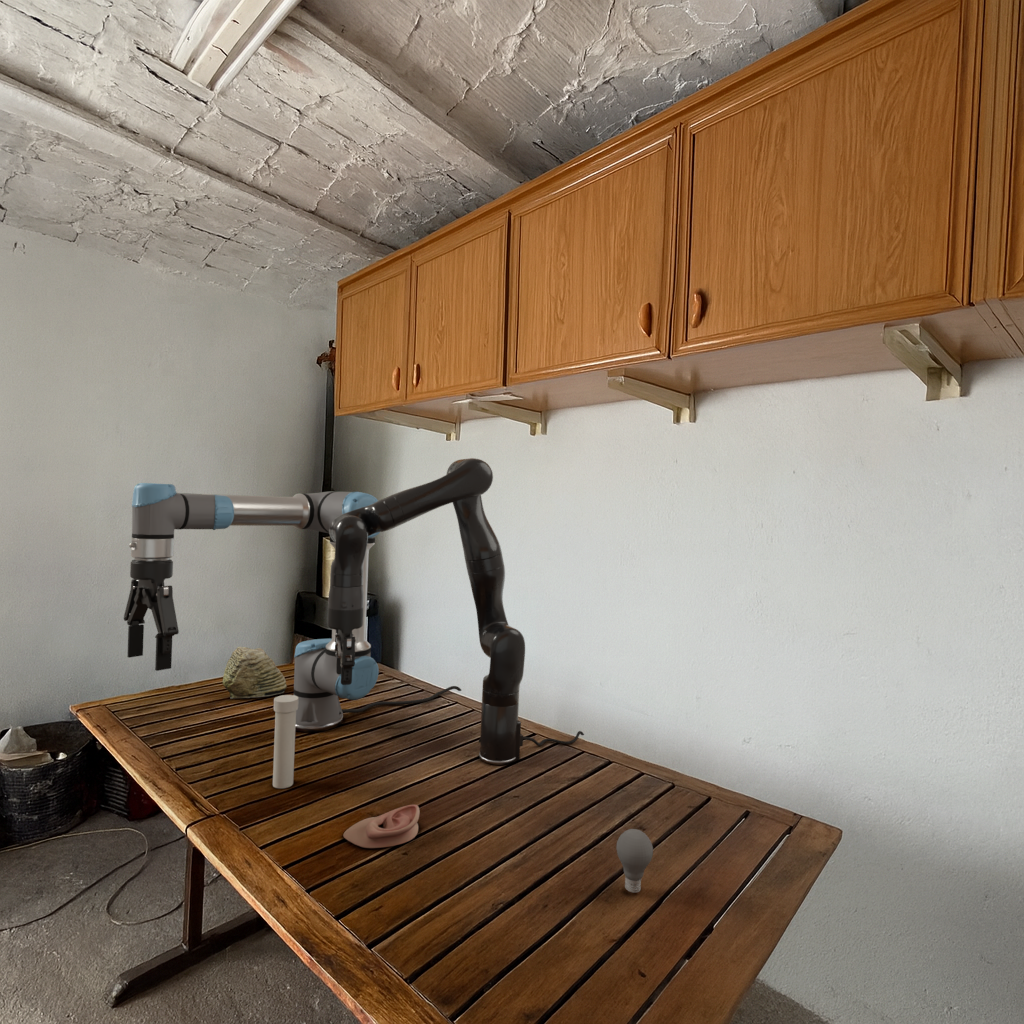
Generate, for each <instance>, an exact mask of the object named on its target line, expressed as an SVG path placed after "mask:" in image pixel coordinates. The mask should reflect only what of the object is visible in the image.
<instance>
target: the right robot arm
mask: <svg viewBox="0 0 1024 1024" xmlns="http://www.w3.org/2000/svg"><path fill="white" fill-rule="evenodd" d="M493 480H494V473H493V470H492V468H491V466H490V465H489V464H488V463H487V462H486V461H484V460H483V459H480V458H474V457H470V458H462V459H457V460H455V461H453V462H452V463H451V464H450V465H449V467H448V468H447V469H446V474H445V475H443V476H441V477H438V478H437V479H434V480H432V481H429V482H427V483H426V482H425V483H423V484H420V485H417V486H414V487H411V488H407V489H405V490H401V491H398V492H396V493H394V494H391V495H389V496H386V497H384V498H381V499H379V500H378V501H377V502H375V503H373V504H371V505H369V506H366V507H362V508H359V509H356V510H353V511H350V512H347V513H345V514H342V515H340V516H338V517H336V518H335V519H334V520H333V521H332V523H331V524H330V527H329V533H328V534H329V538H330V537H331V539H332V540H333V541H334V542H335V543H336V544H335V548H334V559H333V560H332V562H331V564H330V573H329V574H330V575H329V576H330V577H329V591H328V598H327V600H328V603H327V627H328V628H329V629H330V630H332V629H335V630H336V635H335V652H336V653H335V655H336V657H337V663H336V673H337V674H341V684H342V685H350V684H351V683H352V667H353V666H354V665H355V642H356V640H355V637H354V635H353V634H352V630H354V629H358V628H361V627H362V626H363V606H364V592H363V563H364V559H365V554H366V549H367V542H368V536H370V535H372V534H374V533H377V532H380V533H384V532H388V531H390V530H393V529H395V528H397V527H399V526H401V525H404V524H406V523H408V522H411V521H413V520H414V519H416V518H419V517H421V516H423V515H425V514H428V513H430V512H432V511H434V510H436V509H438V508H441V507H443V506H447V505H449V504H452V505H453V509H454V512H455V515H456V519H457V524H458V530H459V535H460V540H461V544H462V551H463V557H464V562H465V566H466V571H467V576H468V579H469V583H470V588H471V593H472V597H473V601H474V606H475V610H476V616H477V618H476V619H477V627H478V638H479V645H480V648H481V650H482V652H483V653H484V654H485V656H487V657H488V658H490V660H489V672H488V674H486V675H485V676H484V677H483V679H482V690H481V691H482V692H481V713H480V718H481V720H480V737H479V739H478V744H479V752H478V757H479V760H481V761H482V762H483V763H486V764H489V765H497V766H504V765H509V764H512V763H514V762H517V761H520V756H521V755H520V753H521V747H523V746H524V740H525V741H529V742H532V743H534V744H535V746H538V747H541V746H543V745H544V744H545V743H547V742H548V743H549V742H552V743H556V744H561V745H571V744H574V743H576V741H577V740H578V739H579V737H580V735H581V736H584V735H585V733H584V732H583V731H581V730H579V731H577V732H576V736H575V737H574V738H573V739H571V740H569V741H565V740H559V739H556V738H543V739H542V740H541V741H540V742H538V740H536V739H535V738H532V737H528V736H524V734H522V733H521V732H522V722H521V720H520V719H519V707H520V706H519V705H520V688H521V682H522V681H523V677H524V670H525V659H526V642H525V637H524V635H523V634H522V632H521V631H520V630H518V629H517V628H515V627H513V626H510V625H509V622H508V619H507V616H506V611H505V608H504V599H503V595H504V588H505V581H506V567H505V562H504V556H503V552H502V548H501V544H500V541H499V539H498V537H497V535H496V533H495V531H494V529H493V527H492V525H491V524H490V522H489V520H488V518H487V516H486V512H485V510H484V505H483V498H482V495H484V494H485V493H486V492H488V490H489V489H490V488H491V487H492V483H493V482H494V481H493ZM347 658H350V661H347Z"/></svg>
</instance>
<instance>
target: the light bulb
mask: <svg viewBox="0 0 1024 1024" xmlns="http://www.w3.org/2000/svg"><path fill="white" fill-rule="evenodd" d="M615 849H616V854H617V857H618V859H619V861H620V863H621V865H622V867H623V873H624V874H623V875H624V876H625V878H624V888H625V890H627V891H628V892H630V893H634V894H635V893H639V892H640V891H641V889H642V887H641V886H642V879H643V877H644V875H645V871H646V868H647V867H648V866H649V864H650V863H651V861H652V859H653V855H654V847H653V843H652V841H651V838H649V836H648V835H647V834H646V833H645V832H643V831H642V830H641V829H636V828H629V829H627V830H625V831H623V832H622V833H621V834H620V835H619V837H618V839H617V841H616V847H615Z"/></svg>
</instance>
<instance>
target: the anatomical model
mask: <svg viewBox="0 0 1024 1024" xmlns="http://www.w3.org/2000/svg"><path fill="white" fill-rule="evenodd" d="M420 814H421V813H420V807H419V805H417V804H408V805H404V806H400V807H397V808H395V809H392V810H390V811H388V812H385V813H383V814H380V815H378V816H372V817H367V818H364V819H361V820H360V821H358V822H356V823H354V824H353V825H351V826H350V827H348V828H347V829H346V830H345V831H344V833H343V835H342V836H343V838H344V839H345V840H346V841H348V842H349V843H352V844H353V845H355V846H358V847H360V848H364V849H380V848H388V847H395V846H399V845H402V844H405V843H407V842H410V841H412V840H414V839H415V838H416V836H417V835H418V832H419V823H418V821H419V819H420Z"/></svg>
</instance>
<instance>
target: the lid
mask: <svg viewBox="0 0 1024 1024" xmlns="http://www.w3.org/2000/svg"><path fill="white" fill-rule="evenodd" d="M297 709H298V697H297V696H294V694H282V695H279V696H275V697H274V698H273V711H274V712H279V713H288V712H293V711H296V710H297Z"/></svg>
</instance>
